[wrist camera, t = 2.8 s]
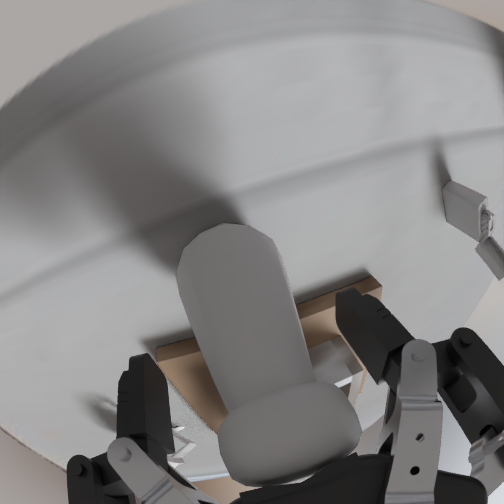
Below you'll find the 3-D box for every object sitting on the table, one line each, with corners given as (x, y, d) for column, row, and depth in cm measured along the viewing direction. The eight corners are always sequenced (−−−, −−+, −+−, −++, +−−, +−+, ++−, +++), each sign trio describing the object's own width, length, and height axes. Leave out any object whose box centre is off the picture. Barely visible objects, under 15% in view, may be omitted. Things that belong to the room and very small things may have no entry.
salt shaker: (156, 243, 15) (154, 489, 4) (241, 190, 15) (394, 398, 4) (209, 306, 18) (260, 500, 7) (283, 264, 18) (394, 440, 7)
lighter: (441, 188, 19) (513, 227, 12) (451, 178, 19) (522, 214, 12) (449, 244, 22) (504, 285, 16) (458, 234, 22) (513, 273, 16)
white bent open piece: (207, 433, 28) (214, 466, 24) (156, 447, 28) (160, 477, 24) (142, 395, 22) (144, 439, 17) (89, 412, 22) (86, 450, 17)
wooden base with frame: (372, 275, 21) (412, 317, 16) (356, 384, 30) (375, 416, 26) (156, 347, 19) (158, 408, 14) (221, 431, 28) (231, 469, 24)
